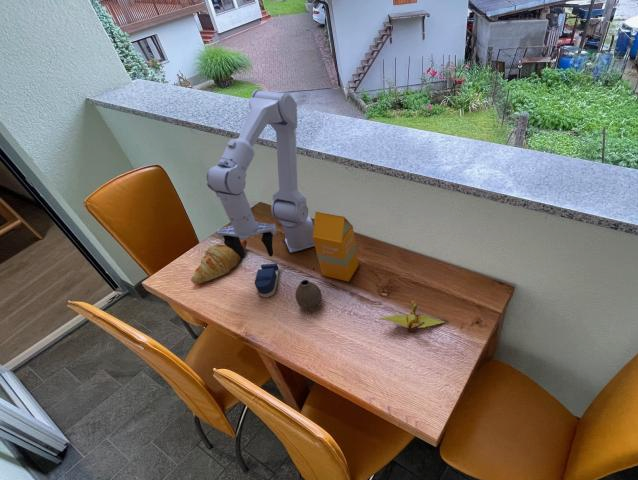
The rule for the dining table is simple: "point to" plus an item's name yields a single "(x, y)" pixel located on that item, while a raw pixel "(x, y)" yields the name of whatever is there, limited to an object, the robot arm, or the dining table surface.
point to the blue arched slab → (267, 279)
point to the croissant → (216, 262)
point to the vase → (308, 295)
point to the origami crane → (413, 319)
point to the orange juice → (335, 246)
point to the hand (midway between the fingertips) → (257, 255)
